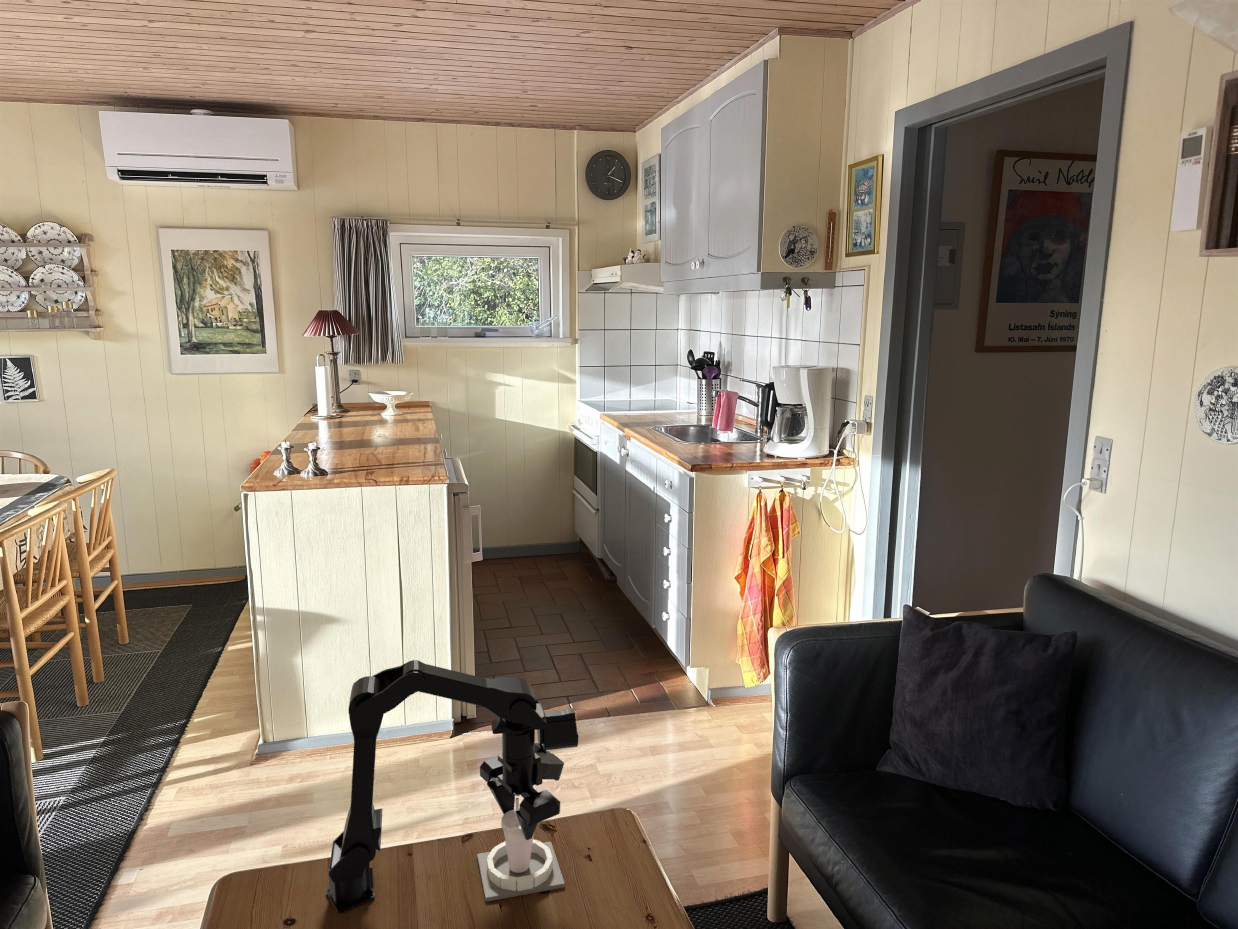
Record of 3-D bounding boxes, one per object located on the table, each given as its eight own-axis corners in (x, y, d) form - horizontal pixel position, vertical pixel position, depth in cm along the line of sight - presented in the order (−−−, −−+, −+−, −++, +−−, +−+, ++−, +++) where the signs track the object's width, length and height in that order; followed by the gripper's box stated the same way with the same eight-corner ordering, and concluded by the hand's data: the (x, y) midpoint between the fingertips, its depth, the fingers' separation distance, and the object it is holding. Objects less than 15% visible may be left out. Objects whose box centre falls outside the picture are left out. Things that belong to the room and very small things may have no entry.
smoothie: (494, 870, 155) (493, 801, 152) (514, 850, 160) (514, 783, 157) (524, 882, 152) (523, 812, 149) (543, 861, 158) (543, 793, 154)
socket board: (485, 901, 149) (485, 887, 148) (477, 857, 160) (477, 844, 160) (564, 887, 153) (564, 873, 152) (551, 845, 164) (551, 832, 163)
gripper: (586, 760, 149) (585, 839, 152) (530, 716, 163) (530, 789, 167) (531, 781, 142) (531, 864, 145) (477, 733, 157) (479, 809, 160)
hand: (519, 829), depth 155 cm, fingers closed on smoothie, 6 cm apart
